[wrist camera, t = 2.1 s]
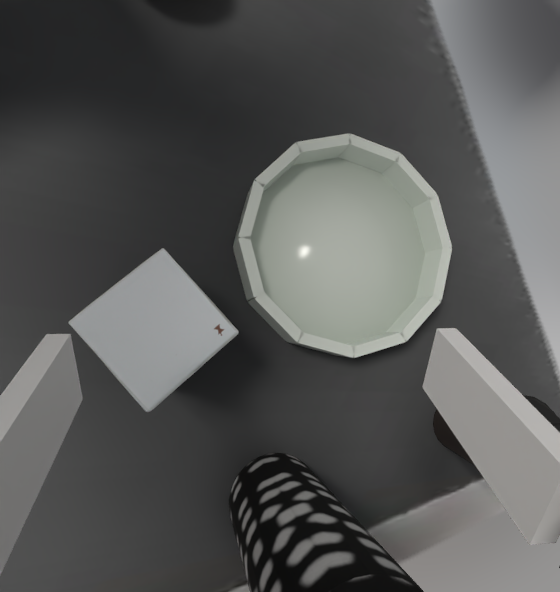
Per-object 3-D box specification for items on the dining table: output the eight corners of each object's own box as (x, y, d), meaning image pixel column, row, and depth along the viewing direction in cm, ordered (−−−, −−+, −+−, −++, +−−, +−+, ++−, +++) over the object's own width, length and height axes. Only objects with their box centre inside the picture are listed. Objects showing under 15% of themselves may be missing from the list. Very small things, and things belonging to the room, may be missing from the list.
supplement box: (171, 272, 38) (166, 242, 26) (224, 333, 38) (243, 334, 26) (103, 324, 36) (63, 320, 24) (160, 388, 37) (148, 416, 24)
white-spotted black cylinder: (212, 528, 37) (246, 748, 17) (253, 439, 38) (326, 548, 19) (295, 560, 38) (412, 797, 19) (331, 472, 40) (474, 607, 20)
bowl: (191, 244, 38) (192, 235, 35) (333, 116, 43) (349, 94, 39) (338, 395, 40) (354, 401, 36) (459, 256, 45) (486, 249, 41)
